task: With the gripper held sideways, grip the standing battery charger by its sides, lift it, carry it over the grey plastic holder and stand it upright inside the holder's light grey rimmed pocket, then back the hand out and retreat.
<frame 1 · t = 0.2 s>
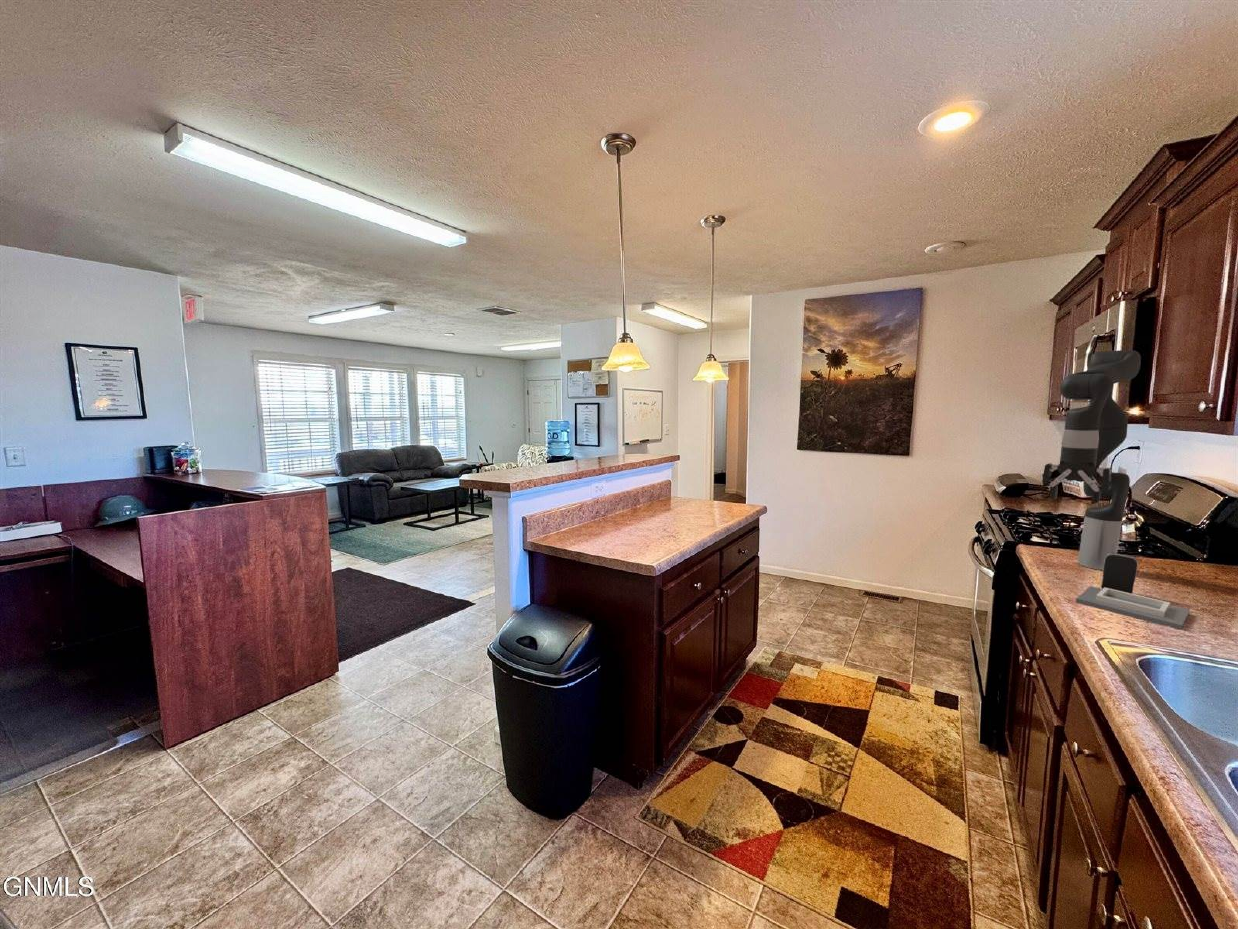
hand: (1073, 501, 141), 28 cm above the table, tool pointing down, fingers open, 8 cm apart
holder: (1131, 608, 136), on the table
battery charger: (1116, 591, 148), on the table
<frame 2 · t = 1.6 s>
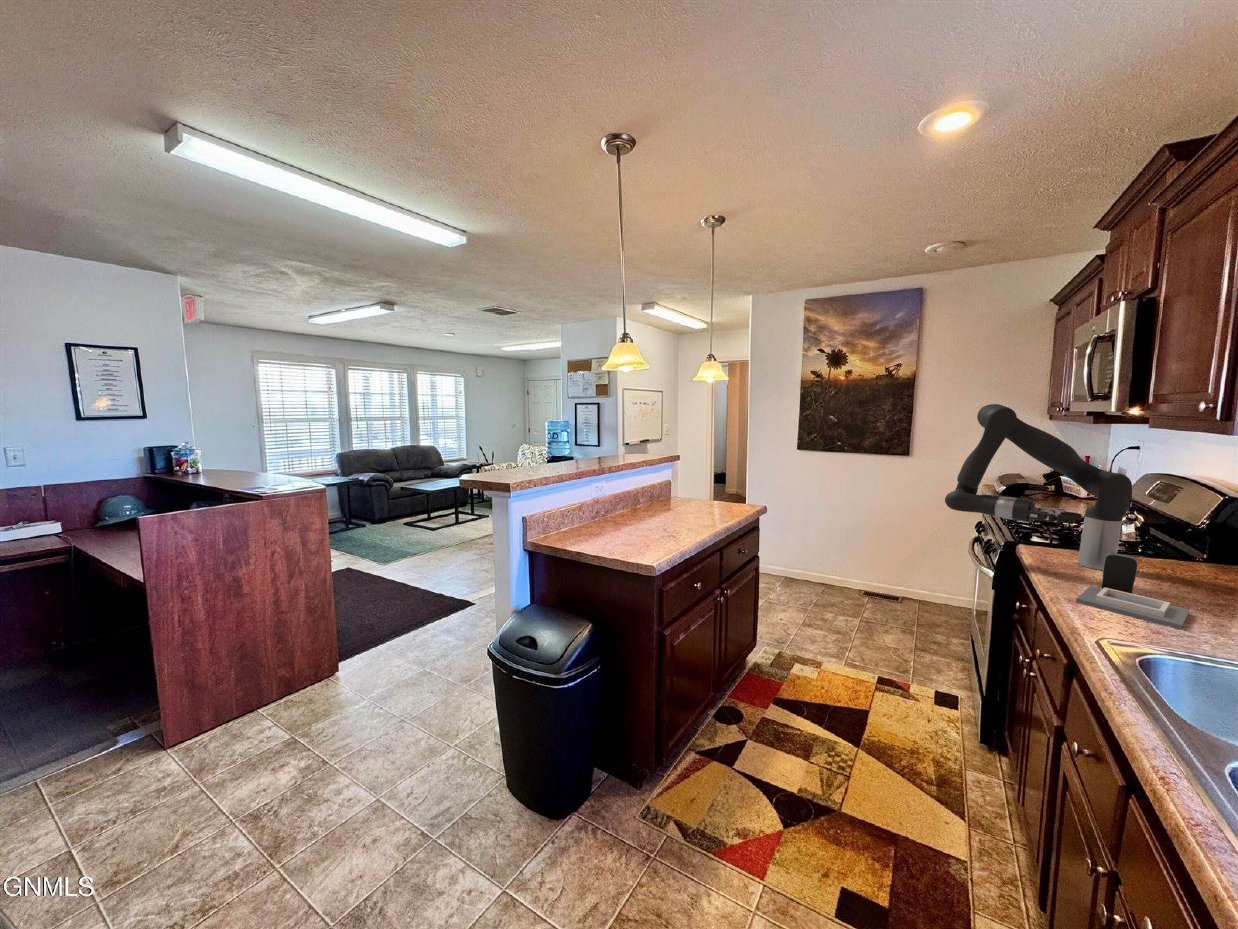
hand: (1077, 519, 154), 20 cm above the table, tool horizontal, fingers open, 8 cm apart
nothing on the table moved.
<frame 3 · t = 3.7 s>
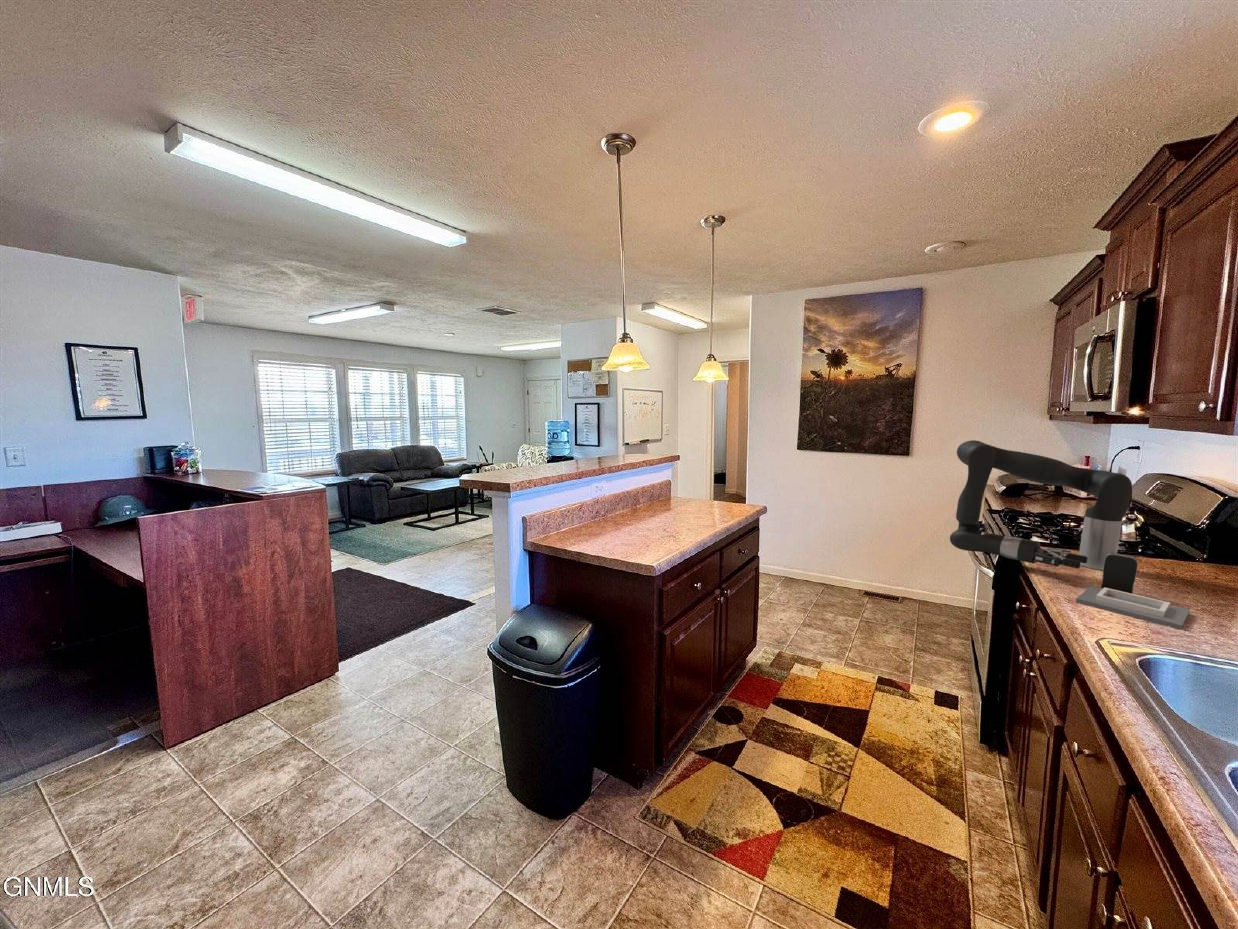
hand: (1083, 562, 154), 7 cm above the table, tool horizontal, fingers open, 8 cm apart
nothing on the table moved.
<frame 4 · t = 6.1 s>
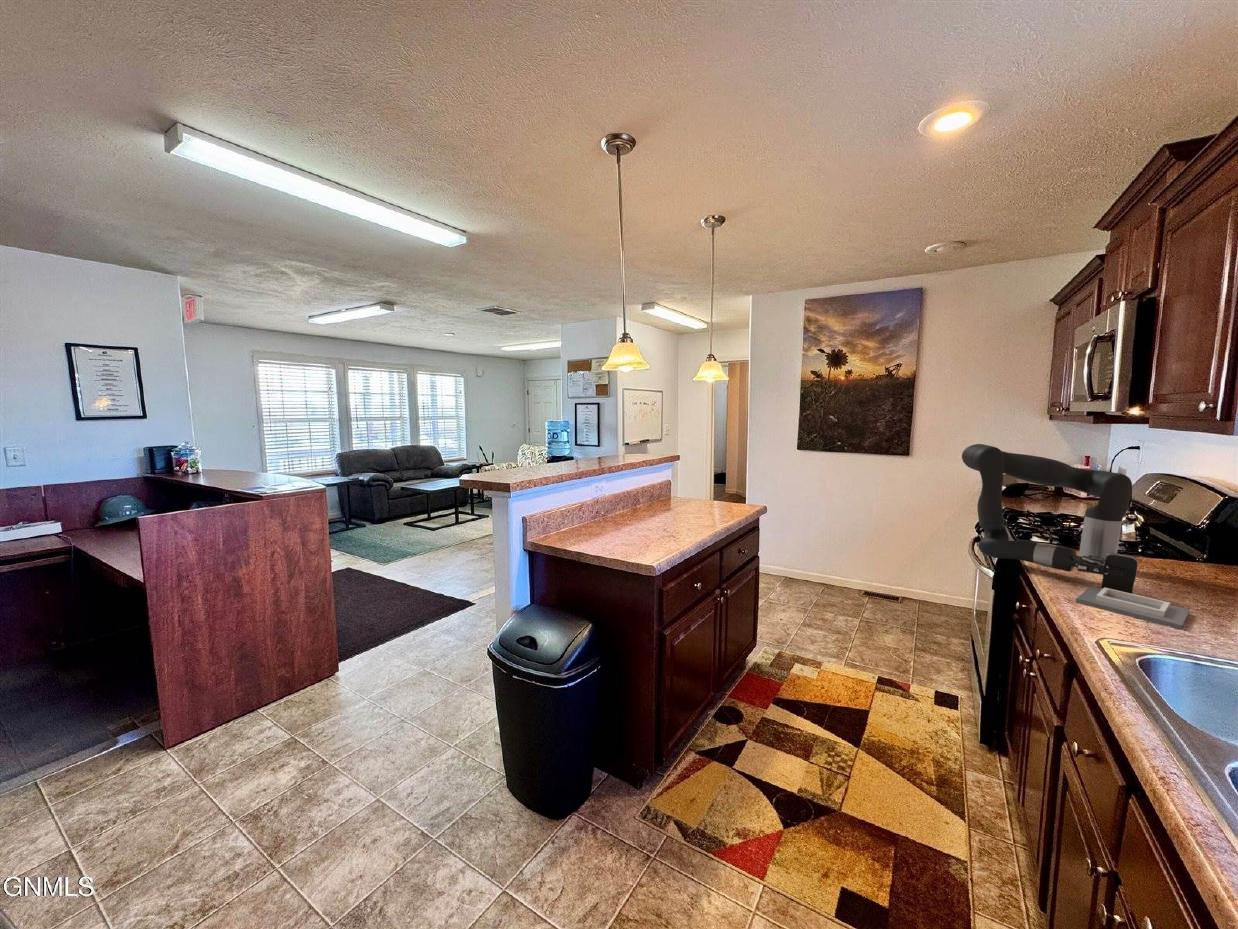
hand: (1128, 572, 146), 7 cm above the table, tool horizontal, fingers closed on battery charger, 4 cm apart
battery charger: (1116, 591, 148), on the table, touching gripper
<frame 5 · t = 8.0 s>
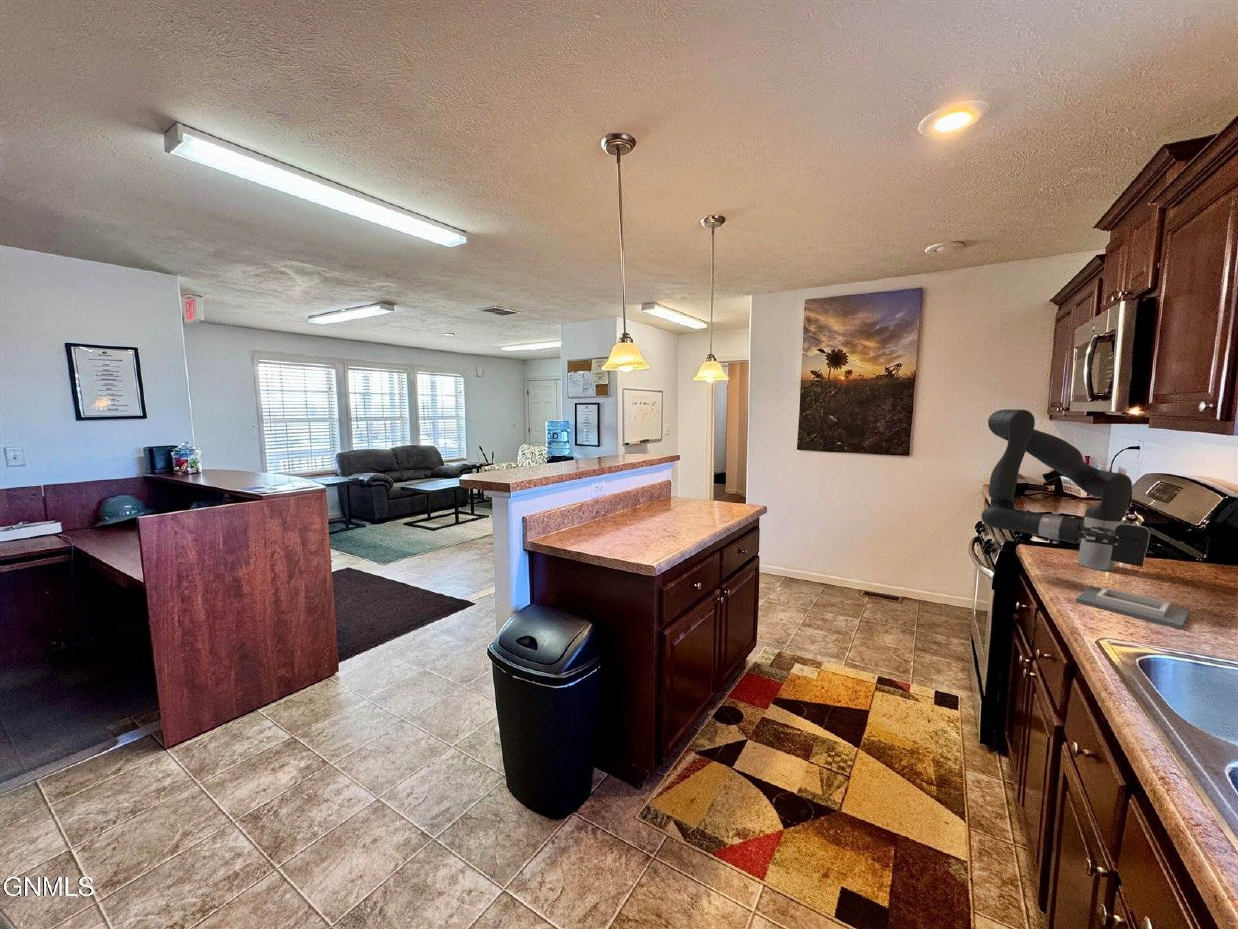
hand: (1139, 542, 138), 18 cm above the table, tool horizontal, fingers closed on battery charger, 4 cm apart
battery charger: (1126, 563, 140), point 11 cm above the table, touching gripper
when the fingers open (9 cm above the table, at t = 10.4 s): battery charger drops 1 cm, resting on holder.
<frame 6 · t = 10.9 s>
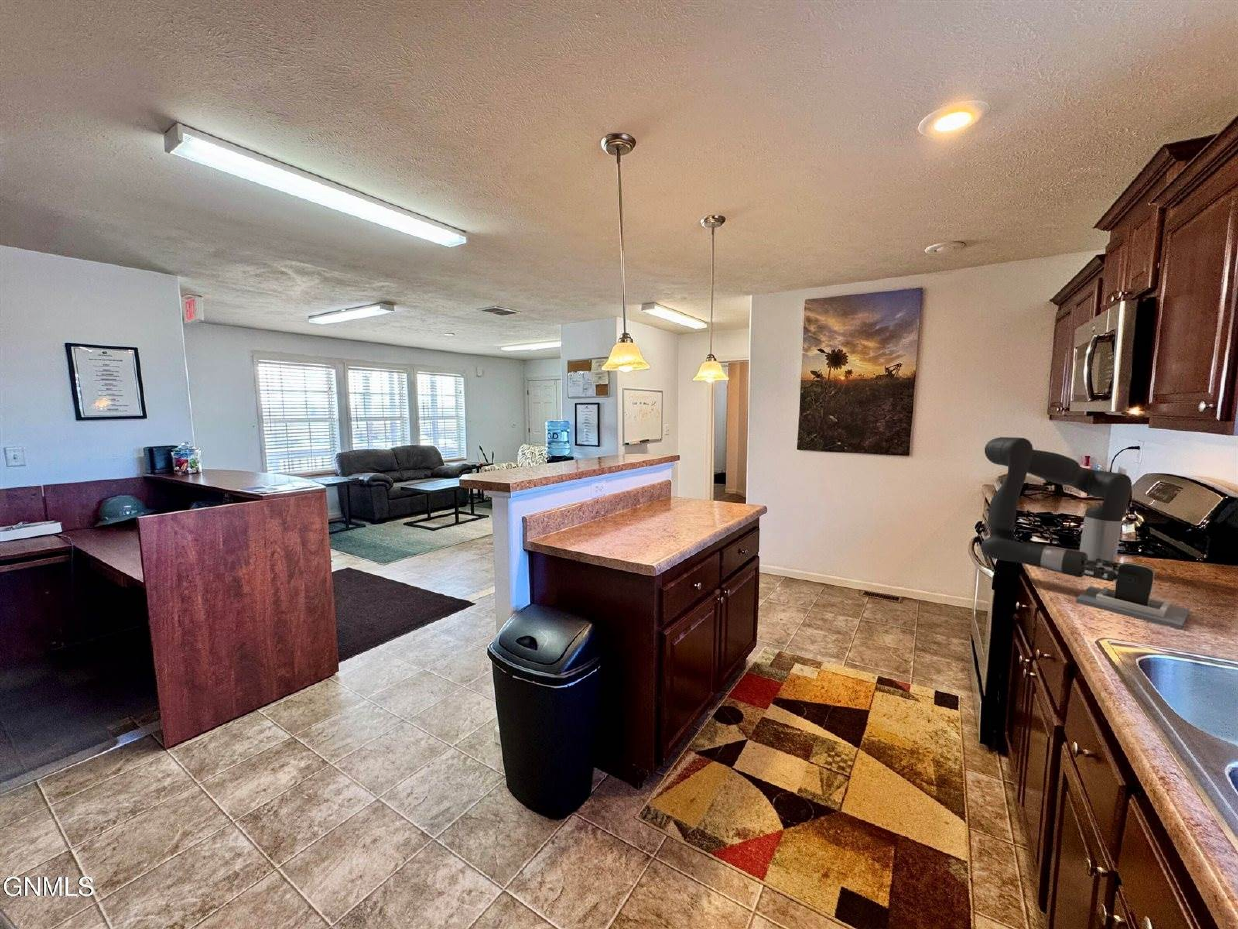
hand: (1141, 577, 134), 9 cm above the table, tool horizontal, fingers open, 8 cm apart
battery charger: (1130, 604, 136), point 1 cm above the table, touching holder
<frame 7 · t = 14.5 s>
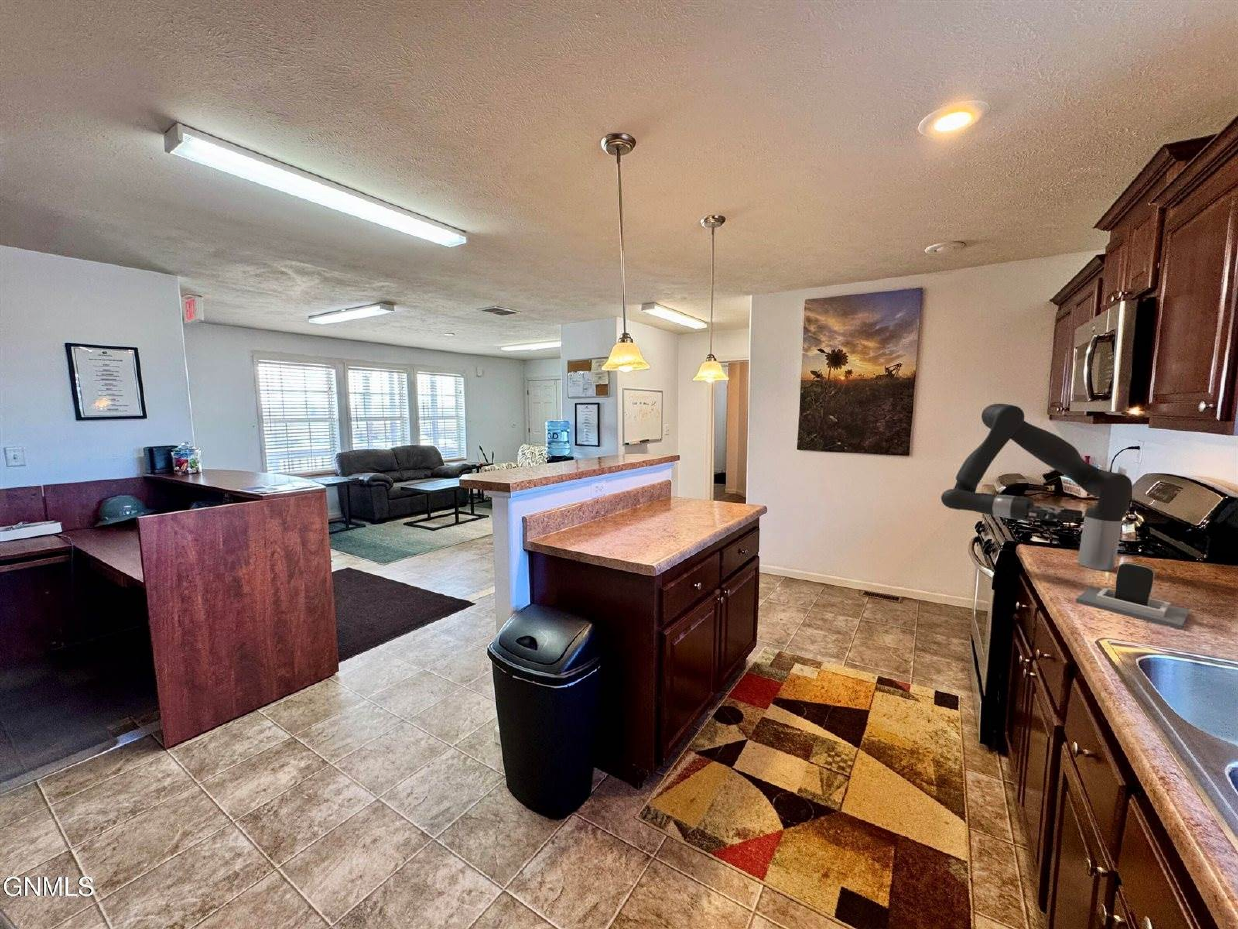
hand: (1078, 516, 149), 22 cm above the table, tool horizontal, fingers open, 8 cm apart
nothing on the table moved.
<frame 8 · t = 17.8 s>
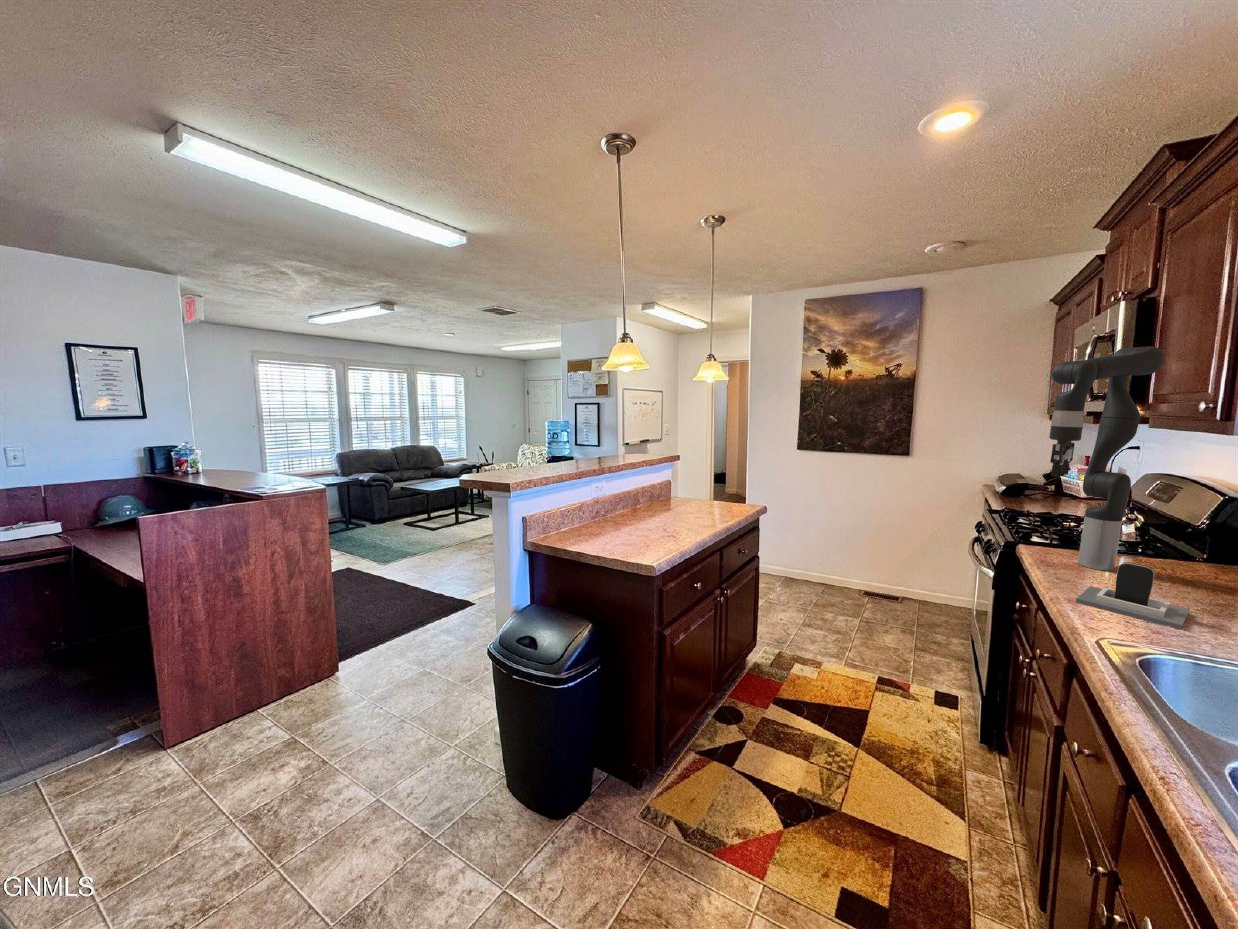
hand: (1059, 475, 158), 33 cm above the table, tool pointing down, fingers open, 8 cm apart
nothing on the table moved.
at the end: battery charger inside the target area on the holder (0.3 cm from its centre), point 1.0 cm above the holder's base; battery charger tilted 0°; the gripper is holding nothing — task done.
